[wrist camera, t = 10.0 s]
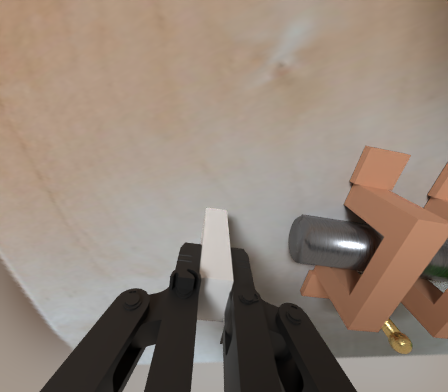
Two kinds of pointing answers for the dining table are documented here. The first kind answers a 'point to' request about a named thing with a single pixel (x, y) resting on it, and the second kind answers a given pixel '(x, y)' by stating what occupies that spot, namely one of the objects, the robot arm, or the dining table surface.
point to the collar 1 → (380, 246)
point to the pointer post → (396, 337)
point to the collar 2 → (423, 289)
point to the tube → (348, 246)
